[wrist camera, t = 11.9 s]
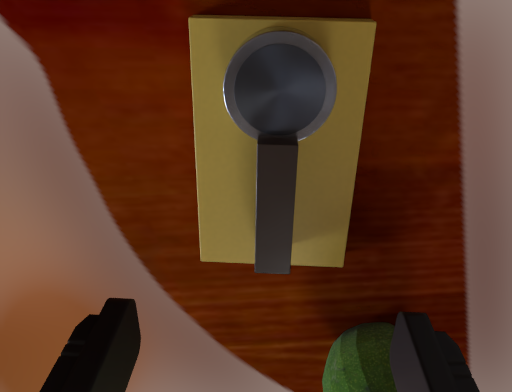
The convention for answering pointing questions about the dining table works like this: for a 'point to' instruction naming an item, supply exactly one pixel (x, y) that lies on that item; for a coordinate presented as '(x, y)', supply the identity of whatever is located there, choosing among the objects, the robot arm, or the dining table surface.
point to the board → (245, 147)
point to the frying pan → (278, 124)
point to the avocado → (361, 360)
